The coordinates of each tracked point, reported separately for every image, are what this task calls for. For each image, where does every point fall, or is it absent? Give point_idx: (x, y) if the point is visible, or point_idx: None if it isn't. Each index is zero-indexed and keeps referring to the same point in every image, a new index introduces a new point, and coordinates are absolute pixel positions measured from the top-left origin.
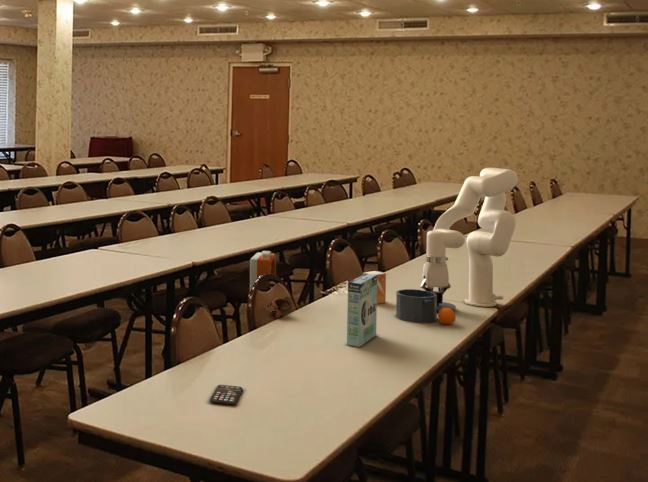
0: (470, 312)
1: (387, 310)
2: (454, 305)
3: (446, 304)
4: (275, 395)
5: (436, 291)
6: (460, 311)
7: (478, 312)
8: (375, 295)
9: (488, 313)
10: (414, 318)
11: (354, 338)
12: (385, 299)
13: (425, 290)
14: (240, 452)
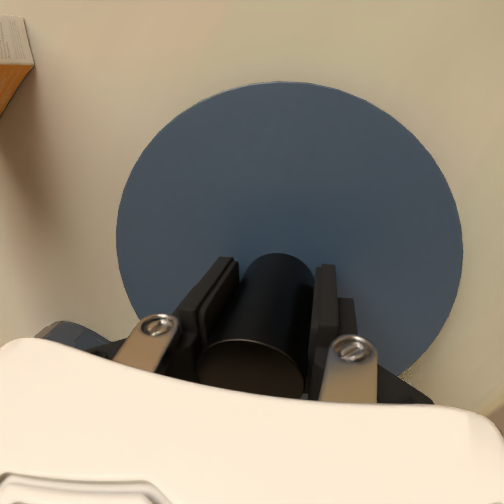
0: (447, 388)
1: (17, 250)
2: (437, 329)
3: (399, 289)
4: None
5: (281, 367)
6: (415, 367)
7: (482, 388)
8: None
9: (500, 402)
10: None
11: None
12: (20, 64)
13: (105, 345)
14: None
